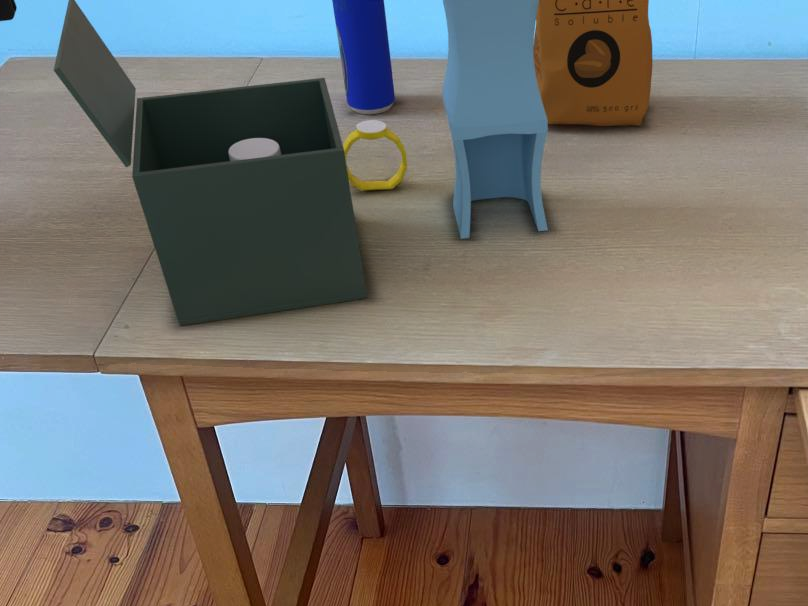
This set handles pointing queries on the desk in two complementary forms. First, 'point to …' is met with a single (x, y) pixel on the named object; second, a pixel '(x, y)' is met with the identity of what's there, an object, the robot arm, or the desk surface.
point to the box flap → (96, 81)
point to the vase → (494, 104)
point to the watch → (371, 132)
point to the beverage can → (365, 54)
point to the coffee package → (593, 61)
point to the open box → (247, 200)
